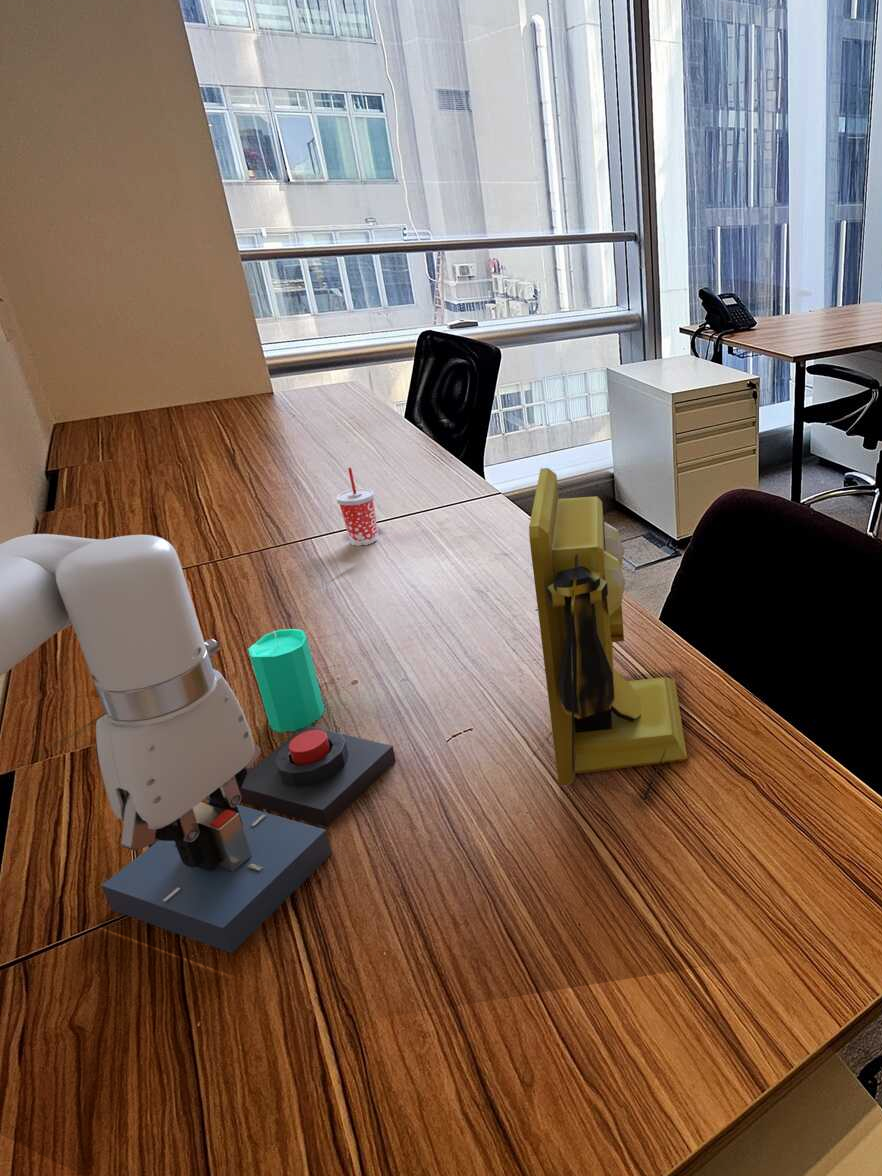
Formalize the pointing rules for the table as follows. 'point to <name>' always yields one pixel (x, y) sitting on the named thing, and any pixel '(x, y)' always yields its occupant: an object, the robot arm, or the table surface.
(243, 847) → the handle
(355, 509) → the beverage cup
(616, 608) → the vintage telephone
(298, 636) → the candle
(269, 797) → the button block
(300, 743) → the button
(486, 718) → the table surface
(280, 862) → the control panel
